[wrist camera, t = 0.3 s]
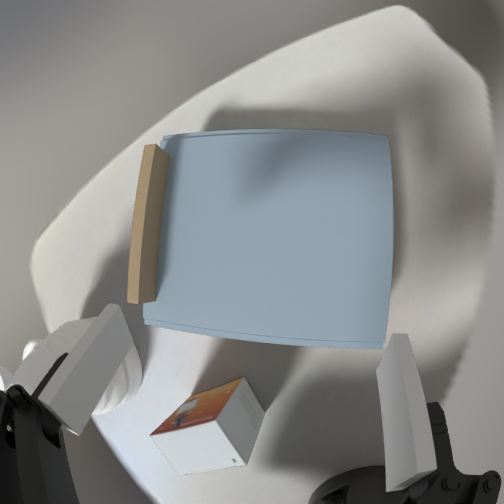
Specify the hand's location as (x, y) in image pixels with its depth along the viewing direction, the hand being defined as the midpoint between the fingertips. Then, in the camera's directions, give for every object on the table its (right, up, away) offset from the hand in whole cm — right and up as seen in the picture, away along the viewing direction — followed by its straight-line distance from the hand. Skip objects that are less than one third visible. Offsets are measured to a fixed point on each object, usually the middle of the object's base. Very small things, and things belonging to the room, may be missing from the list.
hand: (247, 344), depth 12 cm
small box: (-3, -14, +18) cm, 23 cm away
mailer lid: (+2, +6, +14) cm, 15 cm away
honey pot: (-20, -11, +21) cm, 31 cm away
